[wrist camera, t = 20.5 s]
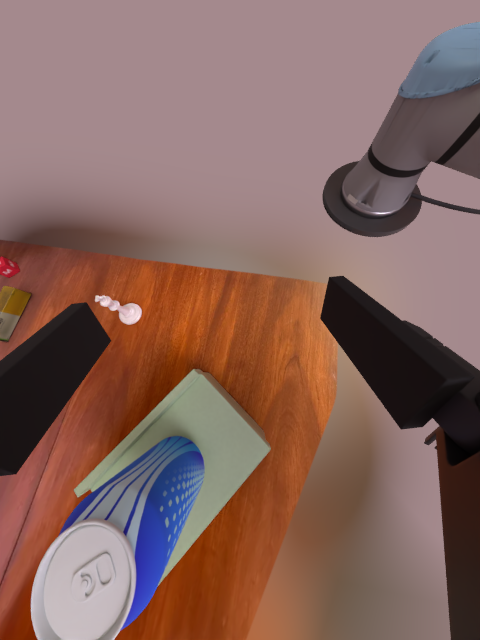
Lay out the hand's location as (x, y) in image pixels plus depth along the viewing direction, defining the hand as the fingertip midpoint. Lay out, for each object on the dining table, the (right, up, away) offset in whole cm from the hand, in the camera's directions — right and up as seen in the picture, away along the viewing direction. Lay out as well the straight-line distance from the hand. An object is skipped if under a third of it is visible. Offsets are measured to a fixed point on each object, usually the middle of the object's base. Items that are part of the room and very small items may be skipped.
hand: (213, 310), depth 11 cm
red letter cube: (-56, +12, +37) cm, 69 cm away
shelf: (-7, -24, +24) cm, 34 cm away
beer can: (-7, -22, +16) cm, 28 cm away
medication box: (-51, 0, +34) cm, 61 cm away
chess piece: (-23, +1, +32) cm, 40 cm away
